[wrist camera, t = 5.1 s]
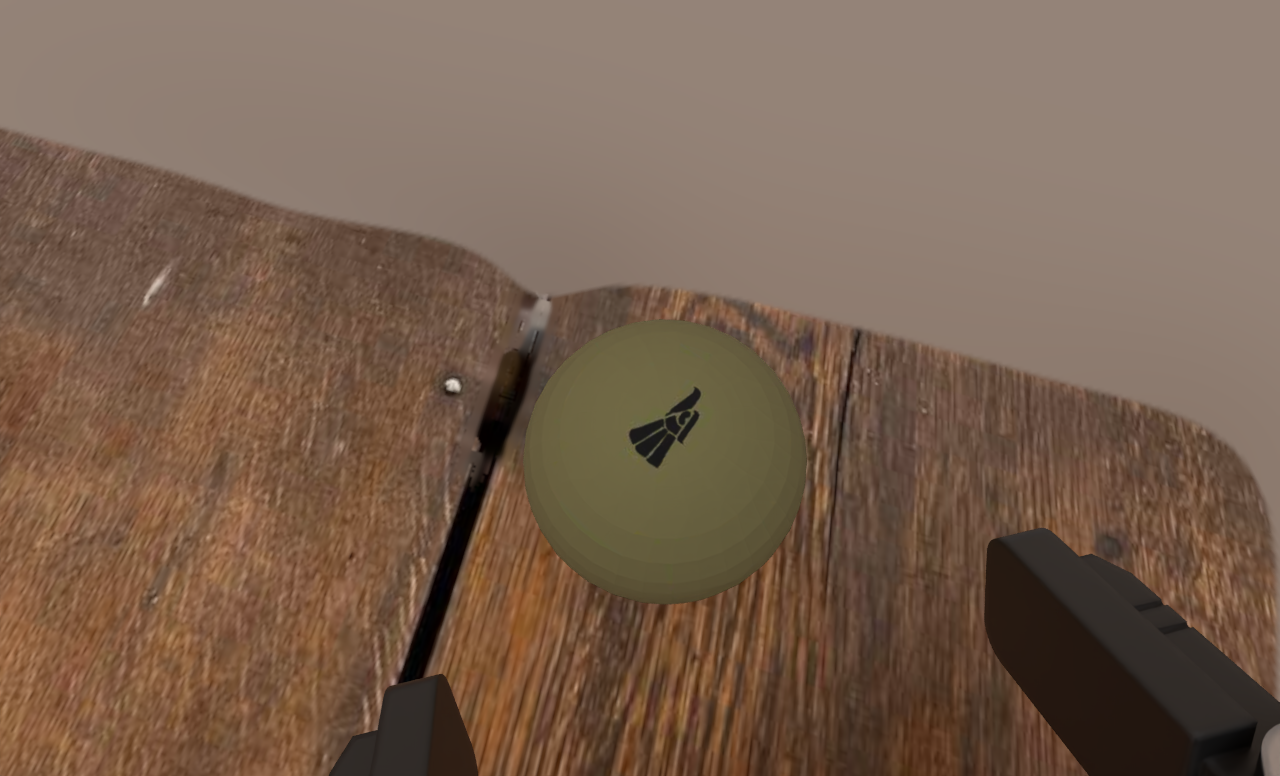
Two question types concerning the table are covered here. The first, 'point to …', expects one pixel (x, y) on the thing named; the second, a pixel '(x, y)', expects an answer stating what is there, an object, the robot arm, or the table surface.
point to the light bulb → (664, 461)
